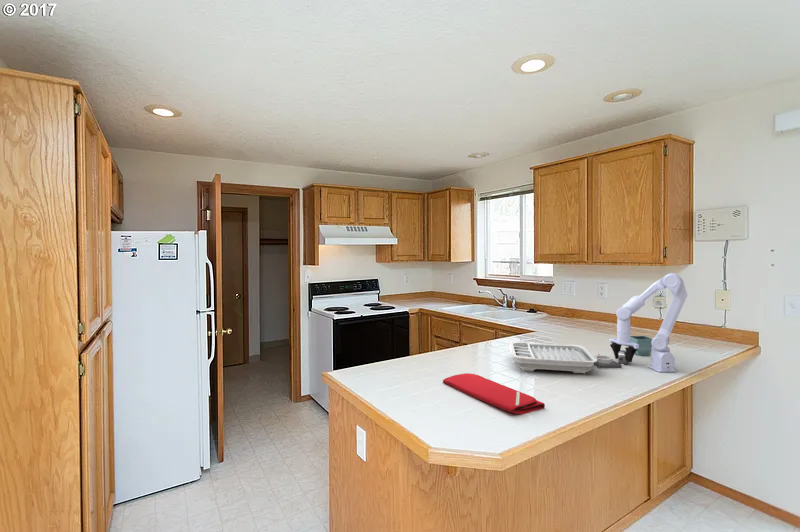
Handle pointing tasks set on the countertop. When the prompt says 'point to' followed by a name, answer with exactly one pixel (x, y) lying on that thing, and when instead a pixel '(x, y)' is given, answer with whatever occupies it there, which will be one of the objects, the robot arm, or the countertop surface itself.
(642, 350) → the flower pot
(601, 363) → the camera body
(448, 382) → the red folded towel
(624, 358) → the lens
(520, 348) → the dish rack
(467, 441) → the countertop surface
